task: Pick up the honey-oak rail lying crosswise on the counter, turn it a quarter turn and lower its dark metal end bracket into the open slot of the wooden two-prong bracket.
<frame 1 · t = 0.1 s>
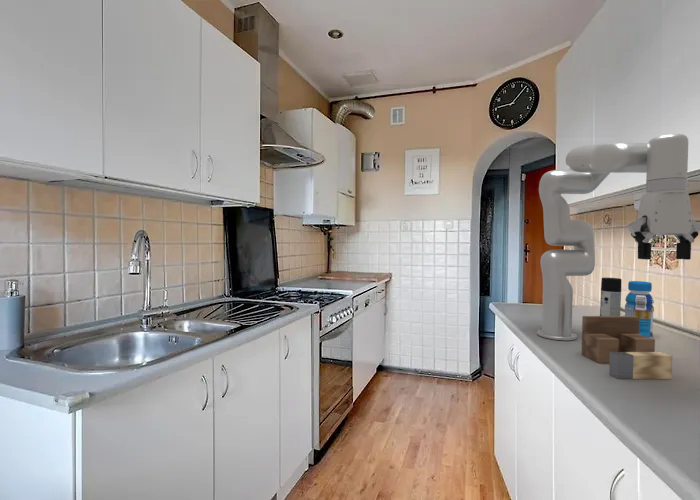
hand: (663, 259, 90), 31 cm above the countertop, tool pointing down, fingers open, 9 cm apart
spray can: (609, 328, 149), on the countertop
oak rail: (639, 376, 97), on the countertop
beverage bottle: (638, 336, 137), on the countertop
wooden two-prong bracket: (616, 358, 111), on the countertop
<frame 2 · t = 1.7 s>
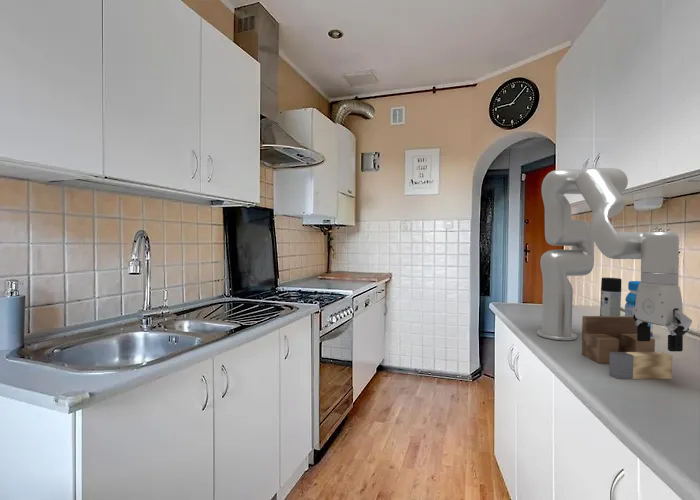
hand: (658, 345, 96), 8 cm above the countertop, tool pointing down, fingers open, 9 cm apart
nothing on the countertop moved.
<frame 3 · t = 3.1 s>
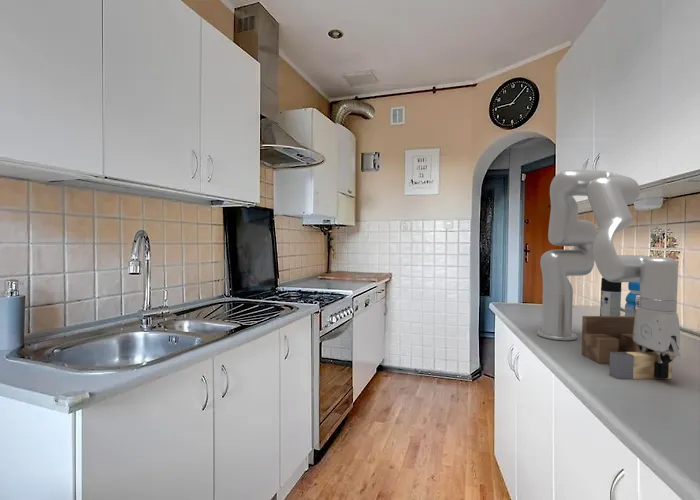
hand: (655, 374, 97), 1 cm above the countertop, tool pointing down, fingers closed on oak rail, 3 cm apart
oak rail: (640, 376, 97), on the countertop, touching gripper
everything else where it was.
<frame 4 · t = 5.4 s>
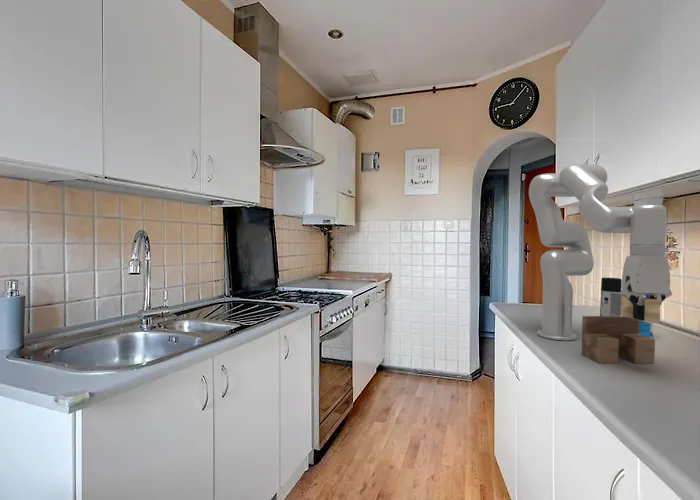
hand: (645, 318, 101), 14 cm above the countertop, tool pointing down, fingers closed on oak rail, 3 cm apart
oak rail: (633, 317, 105), point 14 cm above the countertop, touching gripper
everything else where it was.
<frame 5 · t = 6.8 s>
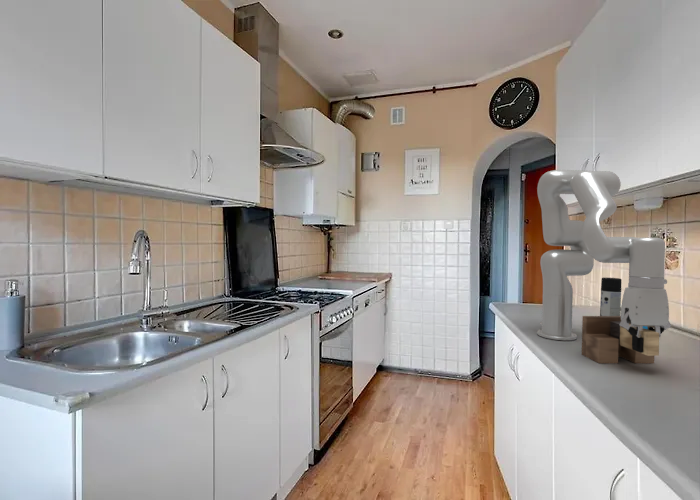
hand: (644, 350, 101), 6 cm above the countertop, tool pointing down, fingers closed on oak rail, 3 cm apart
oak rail: (632, 347, 105), point 5 cm above the countertop, touching gripper
everything else where it was.
when the fingers open (2 cm above the countertop, at t = 7.8 s): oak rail drops 1 cm, on the countertop.
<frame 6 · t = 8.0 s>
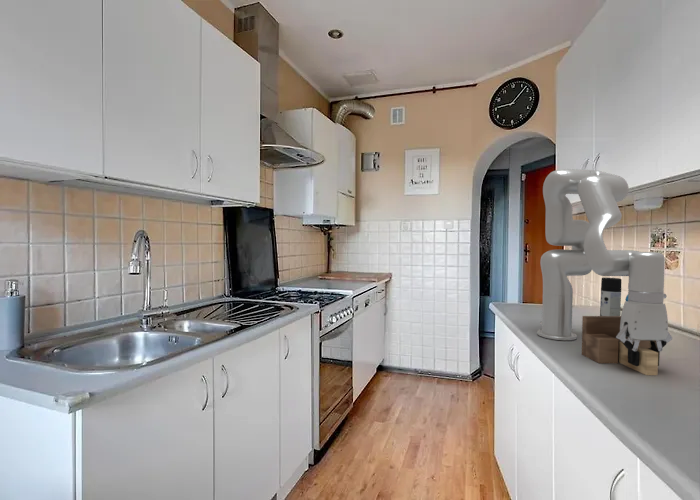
hand: (643, 363, 101), 2 cm above the countertop, tool pointing down, fingers open, 4 cm apart
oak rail: (631, 365, 105), on the countertop
everything else where it was.
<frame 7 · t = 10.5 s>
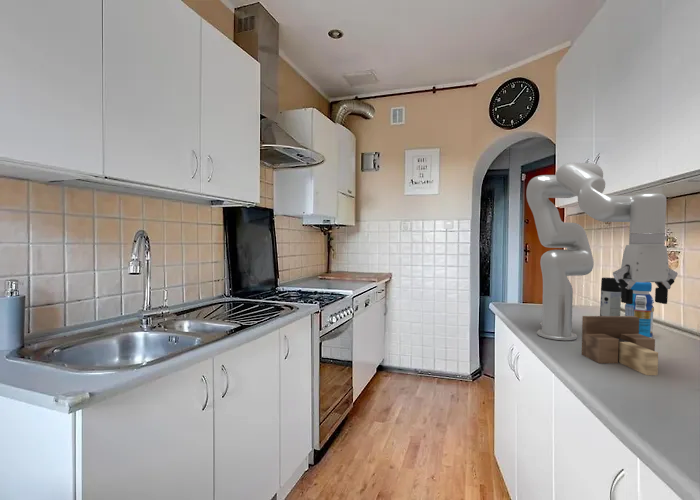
hand: (643, 303, 101), 18 cm above the countertop, tool pointing down, fingers open, 9 cm apart
nothing on the countertop moved.
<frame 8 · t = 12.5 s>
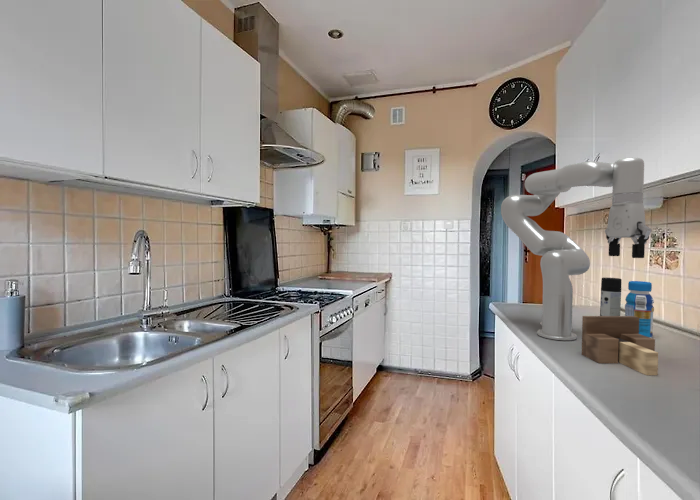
hand: (625, 256, 113), 30 cm above the countertop, tool pointing down, fingers open, 9 cm apart
nothing on the countertop moved.
at the end: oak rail 0.5 cm from the target spot on the countertop beside the wooden two-prong bracket, on the countertop; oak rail tilted 0°; the gripper is holding nothing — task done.
